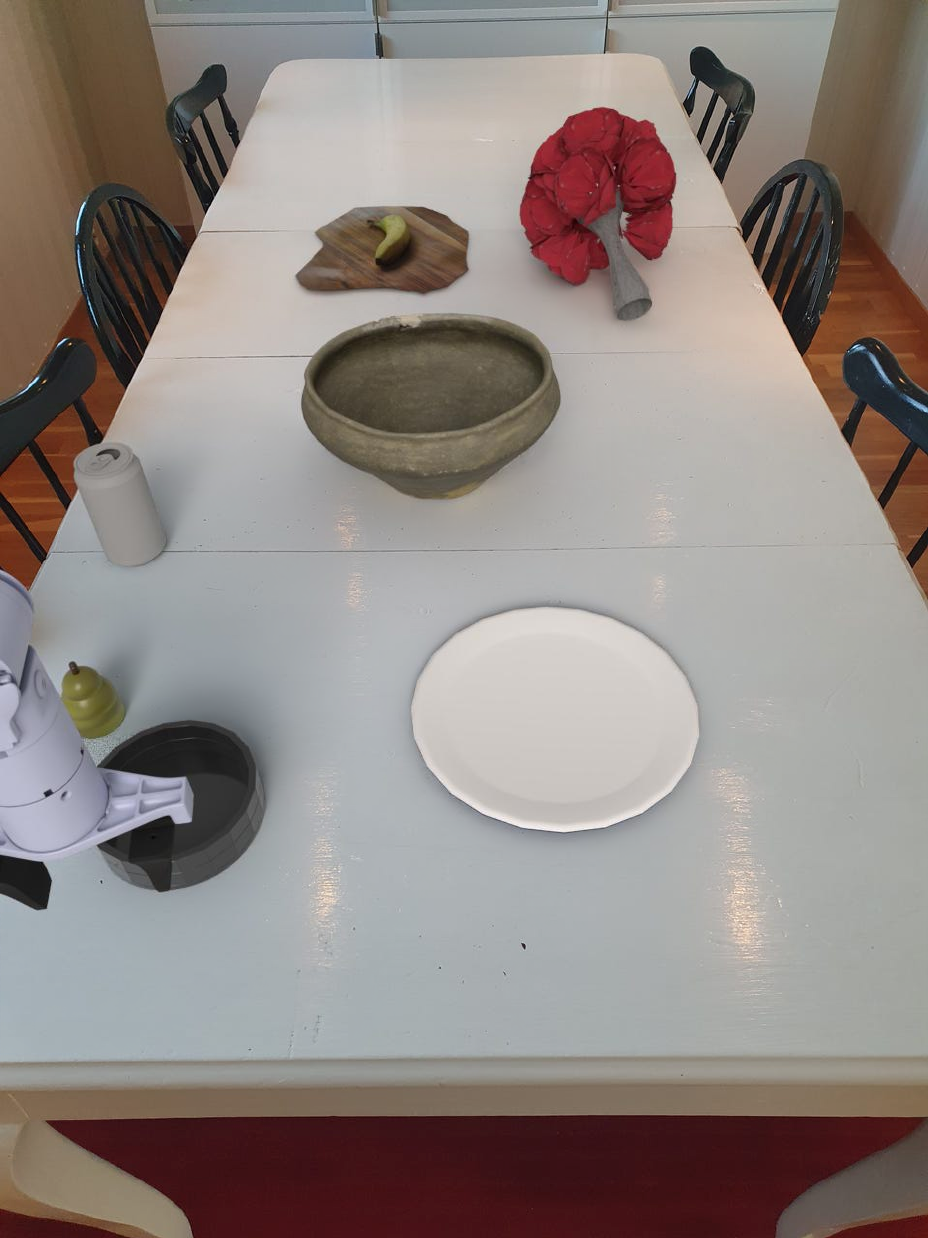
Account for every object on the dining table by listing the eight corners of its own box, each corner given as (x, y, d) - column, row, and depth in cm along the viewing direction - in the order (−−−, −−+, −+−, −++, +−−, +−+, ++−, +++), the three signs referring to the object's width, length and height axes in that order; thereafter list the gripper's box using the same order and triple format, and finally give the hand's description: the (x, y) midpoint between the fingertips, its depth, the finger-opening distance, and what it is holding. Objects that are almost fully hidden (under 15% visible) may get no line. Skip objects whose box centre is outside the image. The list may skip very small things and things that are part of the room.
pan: (152, 925, 67) (136, 898, 64) (68, 814, 73) (51, 786, 71) (297, 816, 73) (289, 788, 70) (207, 724, 80) (197, 694, 77)
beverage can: (179, 538, 98) (149, 444, 89) (146, 576, 94) (111, 482, 85) (129, 526, 99) (95, 434, 91) (94, 564, 95) (55, 470, 87)
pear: (87, 748, 78) (58, 692, 73) (62, 718, 81) (32, 662, 75) (134, 718, 80) (109, 662, 75) (109, 690, 83) (83, 634, 77)
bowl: (603, 493, 102) (615, 382, 92) (385, 583, 92) (372, 469, 82) (473, 383, 119) (472, 279, 109) (278, 449, 109) (256, 341, 99)
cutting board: (468, 296, 136) (467, 271, 134) (288, 298, 137) (284, 273, 134) (471, 205, 161) (470, 183, 158) (318, 207, 162) (315, 185, 159)
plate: (497, 582, 92) (497, 572, 91) (737, 673, 83) (740, 663, 82) (355, 757, 77) (353, 749, 76) (628, 892, 68) (630, 884, 67)
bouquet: (688, 337, 140) (631, 177, 147) (738, 235, 117) (668, 52, 124) (553, 365, 138) (503, 202, 145) (578, 268, 115) (516, 79, 122)
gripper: (171, 689, 52) (221, 817, 62) (-91, 722, 51) (1, 848, 61) (161, 790, 47) (217, 913, 57) (-129, 830, 46) (-22, 949, 56)
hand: (105, 886), depth 59 cm, fingers open, 7 cm apart
